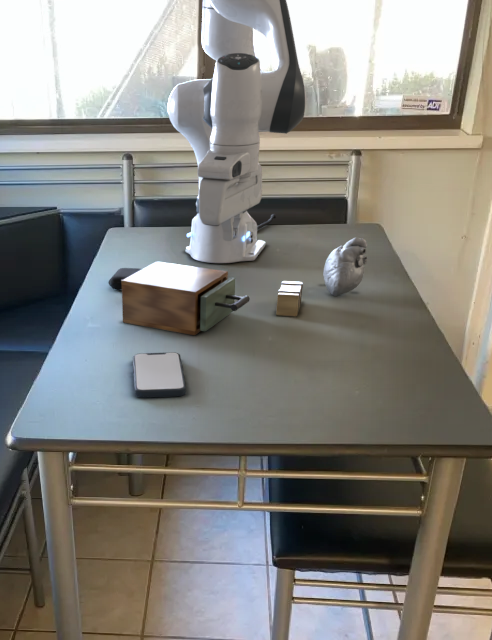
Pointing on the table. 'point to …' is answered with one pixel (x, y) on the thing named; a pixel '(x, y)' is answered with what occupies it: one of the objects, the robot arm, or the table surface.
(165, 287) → the cabinet
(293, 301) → the bundle
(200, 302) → the drawer
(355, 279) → the heart
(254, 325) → the table surface
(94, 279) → the table surface
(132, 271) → the carrying case
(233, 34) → the robot arm
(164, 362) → the smartphone
